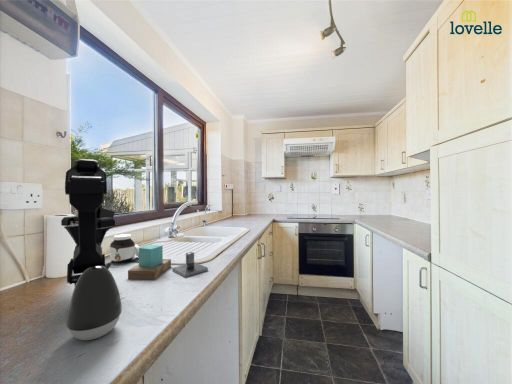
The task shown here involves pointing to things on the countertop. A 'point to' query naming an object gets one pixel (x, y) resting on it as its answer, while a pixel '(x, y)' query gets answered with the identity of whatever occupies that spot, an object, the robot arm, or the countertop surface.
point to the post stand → (189, 267)
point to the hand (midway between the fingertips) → (88, 247)
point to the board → (149, 271)
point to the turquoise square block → (150, 255)
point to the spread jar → (123, 249)
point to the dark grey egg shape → (94, 304)
